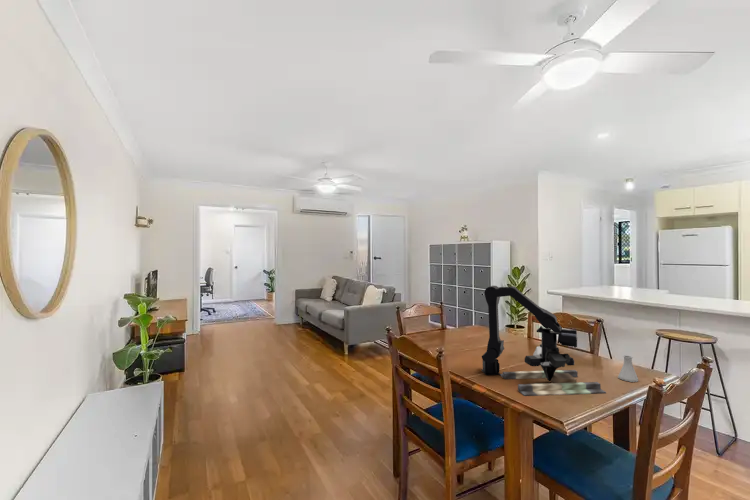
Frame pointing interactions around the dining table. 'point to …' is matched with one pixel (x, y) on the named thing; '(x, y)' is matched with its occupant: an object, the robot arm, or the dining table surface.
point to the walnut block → (563, 378)
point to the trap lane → (552, 384)
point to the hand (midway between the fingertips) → (549, 380)
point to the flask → (628, 370)
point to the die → (538, 352)
